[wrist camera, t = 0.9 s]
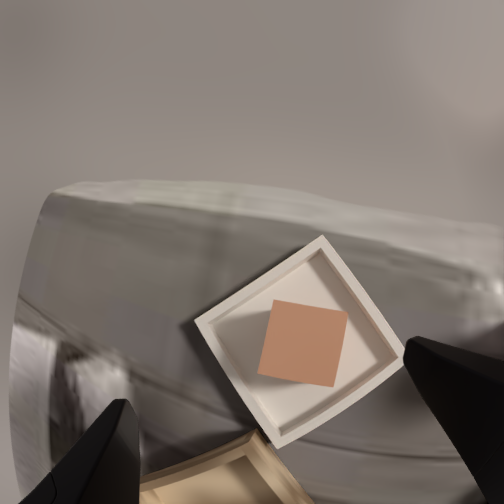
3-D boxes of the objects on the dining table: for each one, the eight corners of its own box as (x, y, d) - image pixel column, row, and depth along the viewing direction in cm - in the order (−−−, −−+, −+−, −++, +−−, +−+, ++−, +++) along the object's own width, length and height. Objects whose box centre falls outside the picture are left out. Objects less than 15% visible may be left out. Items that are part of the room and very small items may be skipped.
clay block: (338, 318, 23) (348, 312, 18) (326, 378, 21) (333, 387, 17) (279, 308, 24) (273, 299, 19) (266, 367, 22) (257, 373, 18)
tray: (403, 357, 21) (411, 358, 19) (279, 441, 21) (277, 449, 19) (321, 242, 25) (322, 234, 24) (201, 322, 25) (194, 320, 23)
